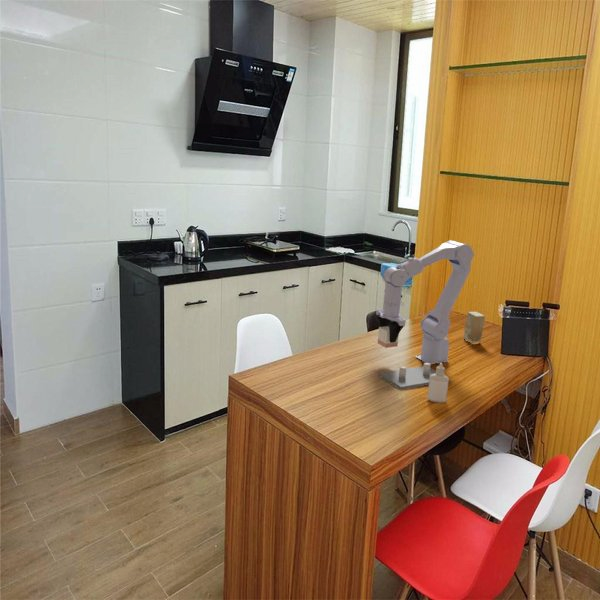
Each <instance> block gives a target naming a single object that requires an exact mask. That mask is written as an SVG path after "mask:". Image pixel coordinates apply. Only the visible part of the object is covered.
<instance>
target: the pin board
mask: <svg viewBox="0 0 600 600" xmlns="http://www.w3.org/2000/svg"><path fill="white" fill-rule="evenodd" d="M431 365H432V364H429V363H425V362H423V365H422V366H421V365H420V366H417V367H415V366H414V367H411V368H410V367H408V368H407V366H400V367H399V369H396V370H395V369H394V370H390V371H383V372H379V373H378V376H379V378H382V379H383V380H385V381H386V382H388V383H389V384H391V385H392V386H394V387H395V388H397V389H399V390H400V391H402V390H408V389H413V388H418V387H424V385H426V386H429V380H430V375H432V374H436V369H435V370H434V369H433V368H431ZM449 381H450V378H449Z"/></svg>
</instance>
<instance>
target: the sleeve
mask: <svg viewBox="0 0 600 600" xmlns="http://www.w3.org/2000/svg"><path fill="white" fill-rule="evenodd" d="M399 335H400V334H399ZM399 335H398V337H397V340H396V342H393V343H391V342H390V331H389V326H385V327H379V326H378V335H377V344H378V345H380V346H381V347H383V348H385V349H387V348H389V349H390V348H396V347H398V344H399Z"/></svg>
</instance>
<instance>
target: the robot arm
mask: <svg viewBox="0 0 600 600" xmlns="http://www.w3.org/2000/svg"><path fill="white" fill-rule="evenodd" d="M474 256H475V254H474V251H473V248H472V246H471V245H469V244H467V243H462V242H458V241H455V240H454V239H453V240H452V239H450V240H448V241H446V242H444V243H443V242H442V243H441V245H439V246H438V247H436V248H435V249H433V250H431V251H430V252H428V253H427V254H425V255H423V256H421V257H419V258H418V257H411V256H410V257H409V258H407V261H405V262H402V263H400V264H396V266H391V267H388V268H387V269H386V270H385V271H384V274H382V278H383V281H384V292H383V293H384V295H383V303H382V304H383V305H382V308H376V310H375V311H376V313H375V314H376V316H377V317H375V320H376V322H377V325H378V328H379V327H385V326H389V331H390V342H391V343H393V342H396V340H397V337H398V335H400V333H401V331H402V330H403V328H404V327H405V326H406V323H407V322H406V319H405V318H403V317H402V316H401V315H400V309H401V299H402V293H403V292H402V290H403V286H404V285H405V284H406V282H407V281H408V280H410V279H411V278H413V277H414V276H417V275H419V274H421V273H423V271H424V268H426V267H427V266H431V265H432V264H434V263H436V262H439V261H441V260H448V261H449V263H450V266H451V267H452V271H451V274H450V276H449V277H448V279H447V281H446V284H445V286H444V287H443V290H442V292H441V294H440V296H439V298H438V300H437V303H436V305H435V307H434V308H433V309H432V310H430V311H428V312H427V314H426V315H425V317H423V318H422V320H421V322H420V329H421V331H422V342H421V349H420V354H419V355H415V358H416V359H417V358H418V360H419V359H420V361H421V360H422V361H421V362H423V363H429V364H431V365H436V364H435V363H437V364H440V363H442V362H444V363H449V362H450V361H449V359H448V357H449V351H450V342H449V339H448V338H447V336H448V334H449V329H450V325H451V320H450V316H449V315H450V313H451V312H452V310H453V307H454V305H455V303H456V302H457V299H458V297H459V295H460V293H461V291H462V290H463V289H462V288H463V287H464V284H465V283H466V280H467V279H468V276H469V274H470V273H471V268H472V267H471V266H472V261H473V258H474ZM398 338H399V337H398ZM442 364H443V363H442Z"/></svg>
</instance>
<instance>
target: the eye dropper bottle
mask: <svg viewBox="0 0 600 600" xmlns="http://www.w3.org/2000/svg"><path fill="white" fill-rule="evenodd" d="M445 369H446V368H445V367H444V366H443V363H439V365H438V366H436V368H435V371H436V374H432V375H430V380H429V385H428V389H427V395H426V396H427V397H426V399H427V400H428V401H430V402H433V403H439V404H440V403H442V404H443V403H446V402H447V397H448V388H449V382H450V380H449V379H450V378H449V377H448V376H447V375H446V374H445Z"/></svg>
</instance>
